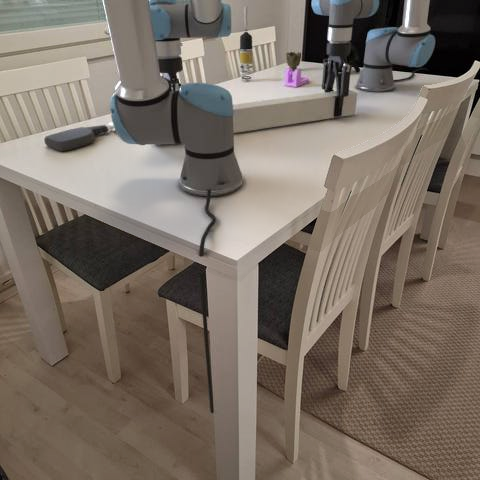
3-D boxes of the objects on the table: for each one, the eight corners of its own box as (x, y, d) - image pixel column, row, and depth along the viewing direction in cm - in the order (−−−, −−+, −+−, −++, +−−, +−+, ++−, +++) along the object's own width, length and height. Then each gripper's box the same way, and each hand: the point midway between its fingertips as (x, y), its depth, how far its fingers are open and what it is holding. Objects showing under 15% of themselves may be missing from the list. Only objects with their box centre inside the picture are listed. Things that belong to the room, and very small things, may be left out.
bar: (155, 145, 133) (152, 120, 129) (151, 139, 137) (148, 115, 133) (354, 114, 155) (357, 92, 151) (346, 110, 159) (348, 89, 155)
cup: (283, 70, 221) (283, 53, 217) (288, 68, 227) (289, 51, 222) (297, 72, 218) (298, 54, 214) (302, 69, 224) (303, 52, 219)
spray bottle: (43, 145, 135) (109, 126, 151) (63, 153, 129) (130, 132, 145) (40, 136, 134) (108, 117, 150) (60, 143, 128) (129, 123, 144)
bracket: (296, 87, 192) (296, 70, 189) (285, 85, 195) (285, 68, 192) (310, 81, 201) (311, 65, 197) (300, 79, 204) (300, 63, 200)
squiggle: (349, 83, 219) (328, 64, 222) (365, 68, 218) (343, 49, 221) (351, 72, 208) (328, 52, 210) (368, 57, 207) (344, 36, 210)
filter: (254, 81, 203) (254, 7, 187) (243, 82, 201) (242, 7, 185) (249, 78, 208) (249, 6, 192) (238, 79, 206) (237, 6, 190)
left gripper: (190, 60, 119) (197, 144, 131) (172, 51, 133) (179, 127, 145) (163, 62, 116) (172, 148, 128) (147, 53, 131) (157, 130, 143)
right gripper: (366, 44, 136) (357, 119, 149) (333, 36, 151) (327, 105, 163) (345, 46, 134) (338, 122, 146) (314, 38, 148) (309, 108, 161)
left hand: (176, 137), depth 137 cm, fingers closed on bar, 5 cm apart
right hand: (332, 113), depth 155 cm, fingers closed on bar, 5 cm apart
